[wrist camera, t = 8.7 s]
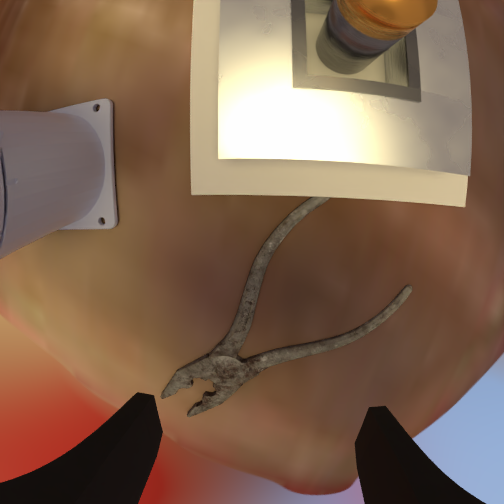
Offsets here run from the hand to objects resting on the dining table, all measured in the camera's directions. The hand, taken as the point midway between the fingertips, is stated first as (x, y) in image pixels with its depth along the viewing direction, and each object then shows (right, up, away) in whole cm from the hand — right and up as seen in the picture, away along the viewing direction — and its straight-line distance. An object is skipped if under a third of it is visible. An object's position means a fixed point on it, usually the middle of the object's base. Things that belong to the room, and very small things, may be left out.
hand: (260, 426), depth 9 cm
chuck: (+5, +16, +5) cm, 18 cm away
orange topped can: (+4, +16, +4) cm, 18 cm away
